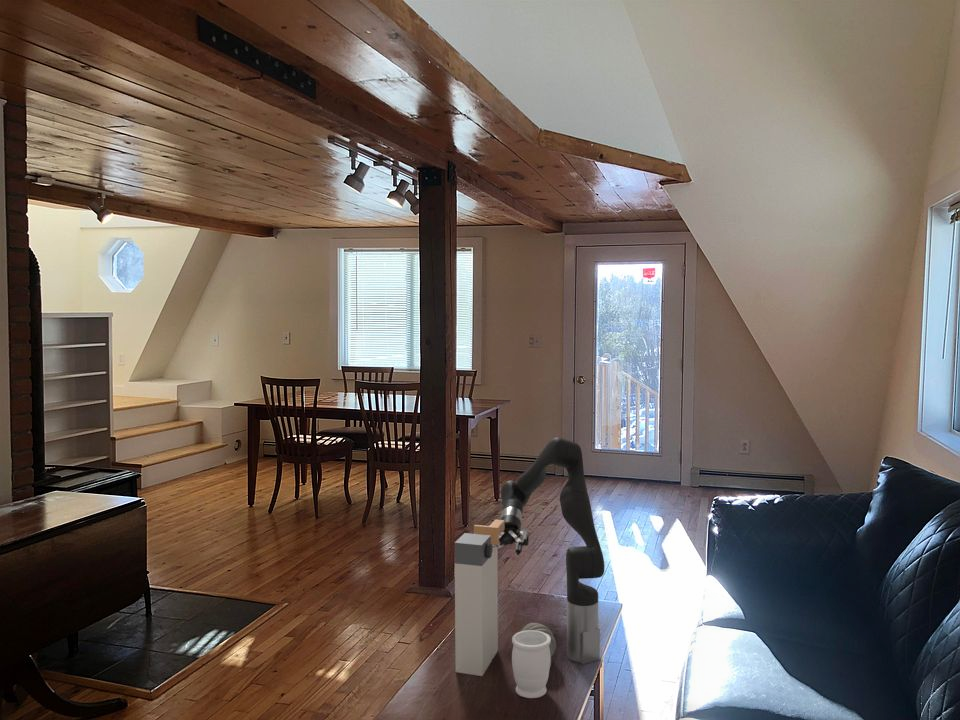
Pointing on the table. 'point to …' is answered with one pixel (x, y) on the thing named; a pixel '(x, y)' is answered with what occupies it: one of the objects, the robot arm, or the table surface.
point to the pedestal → (475, 603)
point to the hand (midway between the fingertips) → (505, 554)
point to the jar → (531, 662)
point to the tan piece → (491, 530)
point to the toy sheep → (546, 630)
